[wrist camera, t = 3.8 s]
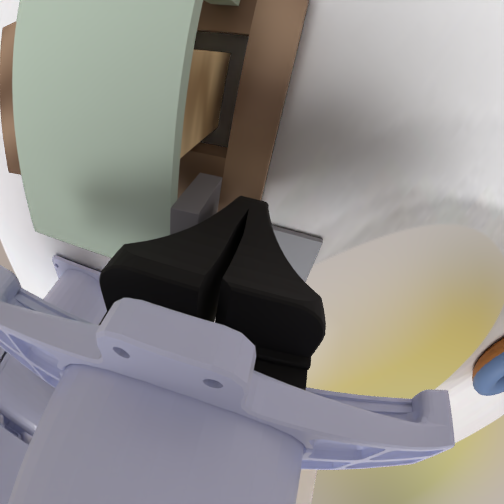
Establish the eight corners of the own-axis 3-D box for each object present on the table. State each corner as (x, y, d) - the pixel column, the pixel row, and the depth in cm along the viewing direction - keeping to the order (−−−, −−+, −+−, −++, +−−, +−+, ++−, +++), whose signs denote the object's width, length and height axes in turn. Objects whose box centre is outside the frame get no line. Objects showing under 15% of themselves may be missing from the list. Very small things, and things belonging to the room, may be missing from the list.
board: (257, 213, 16) (253, 228, 15) (21, 164, 17) (8, 172, 15) (309, 1, 9) (309, -6, 8) (17, 25, 9) (2, 27, 8)
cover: (222, 221, 15) (192, 282, 11) (83, 188, 15) (35, 231, 12) (268, -15, 7) (245, -54, 4) (88, -5, 8) (21, -6, 4)
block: (218, 126, 14) (179, 159, 10) (149, 116, 14) (93, 145, 10) (231, 53, 11) (193, 50, 7) (156, 47, 11) (95, 51, 7)
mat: (282, 327, 22) (282, 331, 22) (174, 298, 22) (172, 301, 22) (322, 238, 16) (322, 242, 16) (175, 201, 17) (172, 204, 16)
